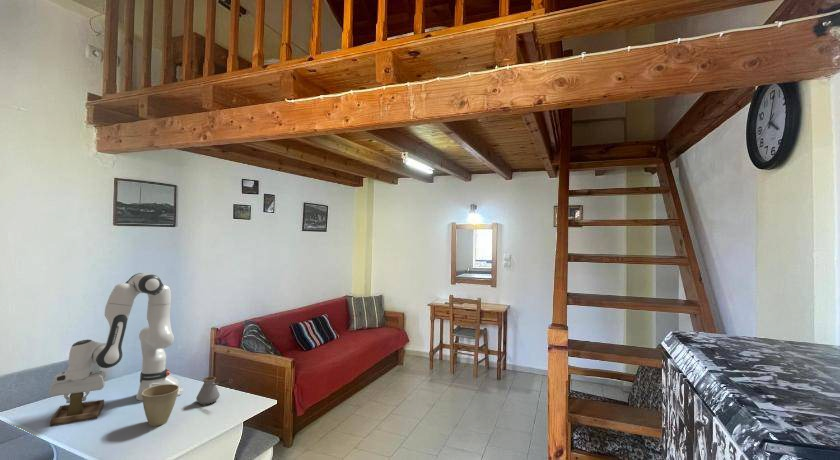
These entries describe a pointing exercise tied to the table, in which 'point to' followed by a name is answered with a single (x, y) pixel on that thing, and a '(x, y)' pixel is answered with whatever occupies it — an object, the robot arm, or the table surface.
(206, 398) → the coffee pot
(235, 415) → the table surface
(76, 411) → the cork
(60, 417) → the walnut tray
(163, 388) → the plant pot
